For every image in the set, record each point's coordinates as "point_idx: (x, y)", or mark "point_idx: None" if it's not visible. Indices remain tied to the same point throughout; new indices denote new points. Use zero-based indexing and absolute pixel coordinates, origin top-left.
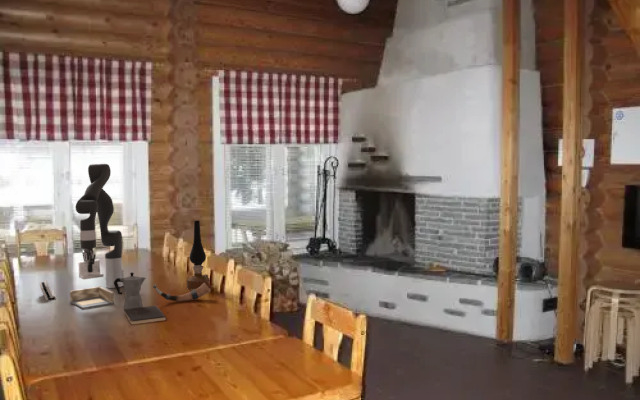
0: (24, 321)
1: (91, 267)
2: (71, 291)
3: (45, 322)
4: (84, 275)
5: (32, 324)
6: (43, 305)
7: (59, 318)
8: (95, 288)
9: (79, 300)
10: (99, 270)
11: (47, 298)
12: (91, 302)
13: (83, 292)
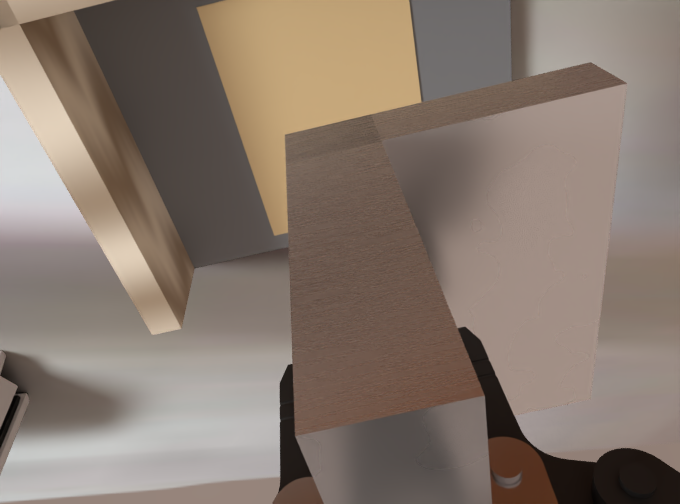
0: (556, 449)
1: (505, 406)
2: (179, 322)
3: (664, 376)
4: (510, 389)
5: (649, 419)
6: (207, 405)
7: (639, 321)
8: (51, 73)
9: (210, 208)
10: (394, 175)
11: (23, 405)
12: (365, 112)
13: (132, 203)
